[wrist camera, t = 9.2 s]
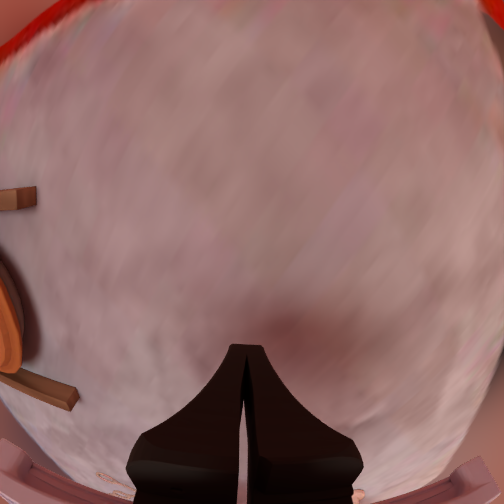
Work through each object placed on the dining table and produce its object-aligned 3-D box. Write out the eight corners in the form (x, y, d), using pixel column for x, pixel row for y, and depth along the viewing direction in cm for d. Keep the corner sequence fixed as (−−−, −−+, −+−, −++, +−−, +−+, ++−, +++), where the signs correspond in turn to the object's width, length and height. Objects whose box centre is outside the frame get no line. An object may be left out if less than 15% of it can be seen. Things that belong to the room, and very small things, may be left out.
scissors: (85, 469, 29) (203, 493, 29) (87, 466, 30) (204, 489, 29) (109, 495, 32) (213, 514, 32) (110, 492, 33) (213, 510, 32)
